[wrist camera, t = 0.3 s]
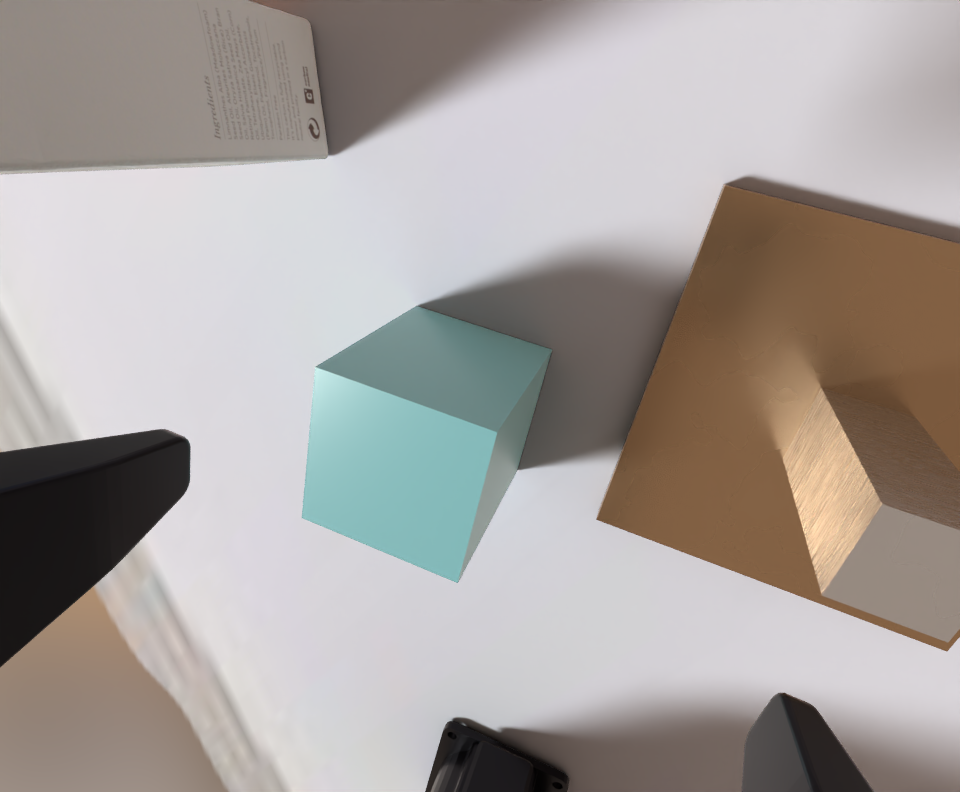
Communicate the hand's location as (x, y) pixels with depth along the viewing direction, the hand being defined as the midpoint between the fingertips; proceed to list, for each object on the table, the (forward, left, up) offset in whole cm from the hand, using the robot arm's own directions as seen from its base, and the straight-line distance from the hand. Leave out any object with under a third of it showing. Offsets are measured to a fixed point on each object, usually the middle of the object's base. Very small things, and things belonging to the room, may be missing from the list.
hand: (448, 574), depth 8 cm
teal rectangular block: (-4, +4, -13) cm, 14 cm away
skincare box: (+4, +14, -13) cm, 19 cm away
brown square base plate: (-1, -8, -13) cm, 15 cm away
